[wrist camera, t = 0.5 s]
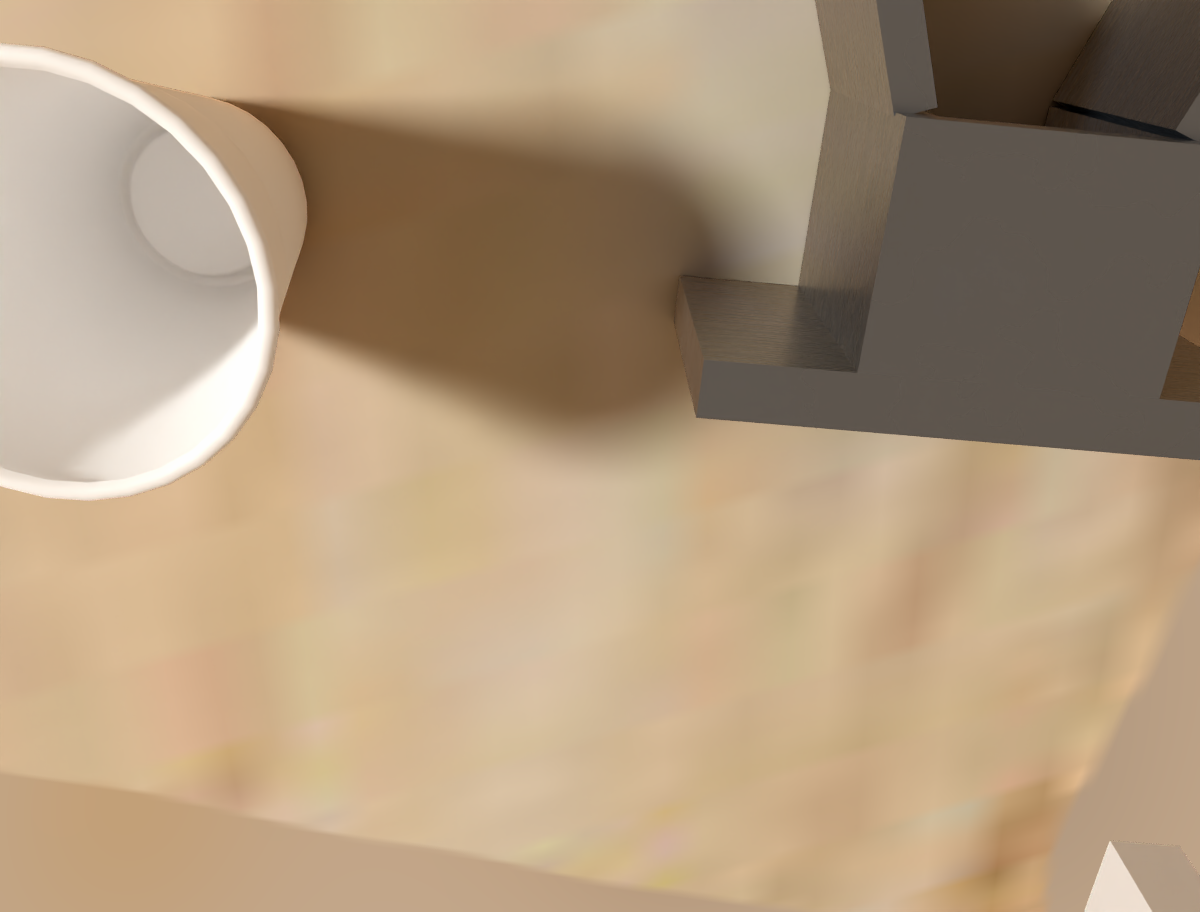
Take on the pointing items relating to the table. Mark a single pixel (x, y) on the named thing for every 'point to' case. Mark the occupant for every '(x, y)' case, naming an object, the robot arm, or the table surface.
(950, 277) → the endcap
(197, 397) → the cup
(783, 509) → the table surface
